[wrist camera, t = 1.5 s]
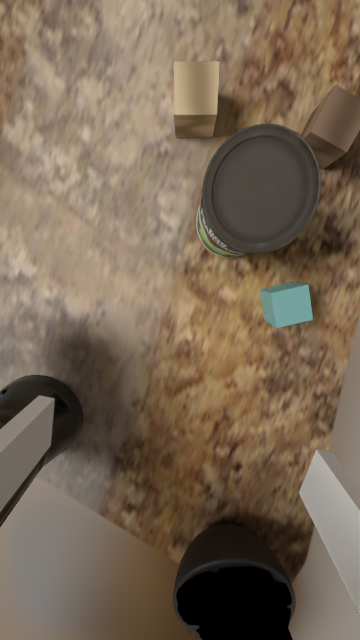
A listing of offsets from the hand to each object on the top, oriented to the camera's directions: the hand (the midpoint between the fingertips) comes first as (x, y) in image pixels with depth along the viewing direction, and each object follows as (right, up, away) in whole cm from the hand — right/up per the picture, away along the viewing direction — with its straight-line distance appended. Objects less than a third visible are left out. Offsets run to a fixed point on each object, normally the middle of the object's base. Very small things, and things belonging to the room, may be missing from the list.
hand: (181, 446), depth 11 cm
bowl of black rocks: (+9, -38, +36) cm, 53 cm away
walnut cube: (+19, +30, +20) cm, 41 cm away
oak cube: (+2, +34, +20) cm, 39 cm away
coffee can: (+8, +21, +22) cm, 31 cm away
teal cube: (+15, +9, +25) cm, 31 cm away
